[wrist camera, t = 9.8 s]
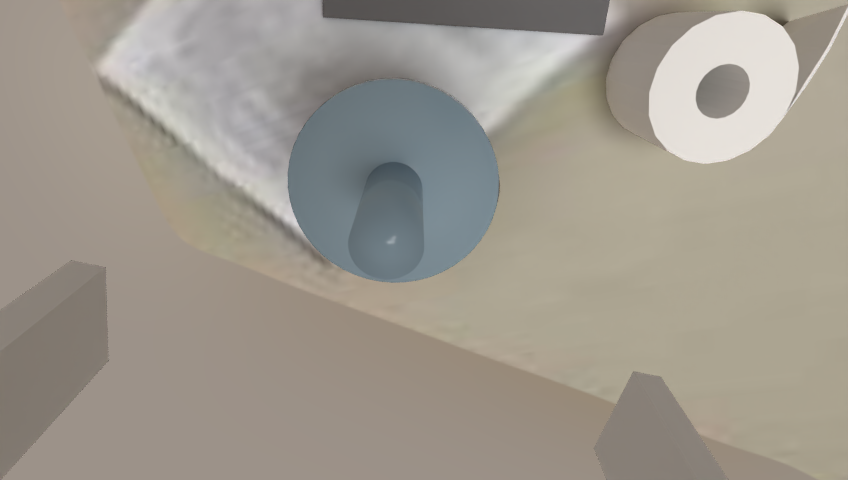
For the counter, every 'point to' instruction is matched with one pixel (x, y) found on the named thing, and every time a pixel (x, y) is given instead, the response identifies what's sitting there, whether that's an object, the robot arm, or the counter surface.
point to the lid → (393, 180)
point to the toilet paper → (715, 78)
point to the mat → (481, 13)
